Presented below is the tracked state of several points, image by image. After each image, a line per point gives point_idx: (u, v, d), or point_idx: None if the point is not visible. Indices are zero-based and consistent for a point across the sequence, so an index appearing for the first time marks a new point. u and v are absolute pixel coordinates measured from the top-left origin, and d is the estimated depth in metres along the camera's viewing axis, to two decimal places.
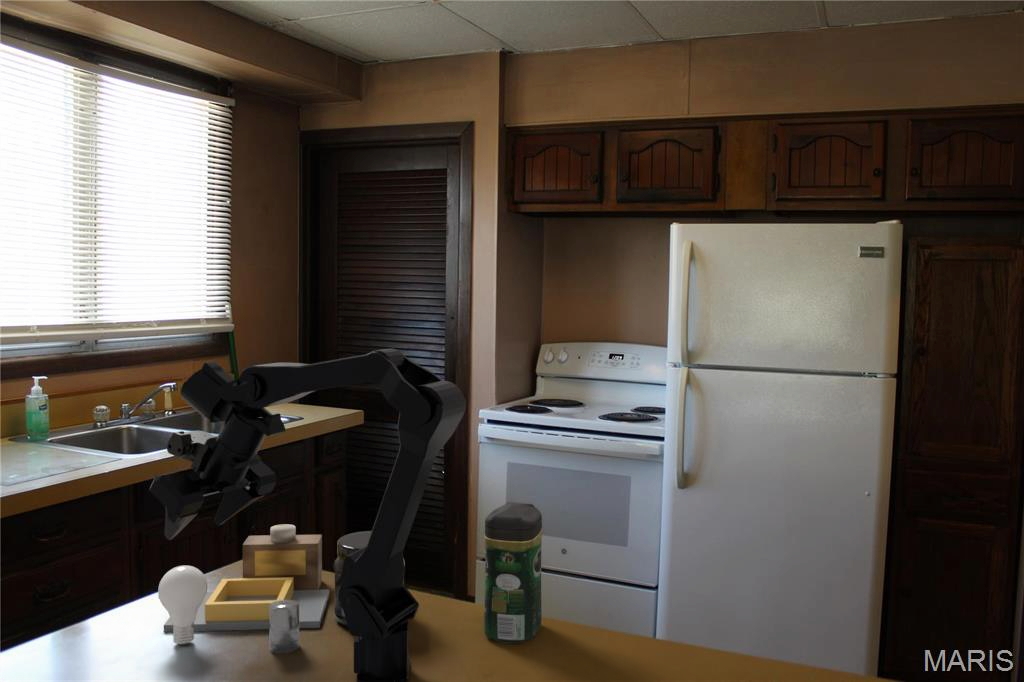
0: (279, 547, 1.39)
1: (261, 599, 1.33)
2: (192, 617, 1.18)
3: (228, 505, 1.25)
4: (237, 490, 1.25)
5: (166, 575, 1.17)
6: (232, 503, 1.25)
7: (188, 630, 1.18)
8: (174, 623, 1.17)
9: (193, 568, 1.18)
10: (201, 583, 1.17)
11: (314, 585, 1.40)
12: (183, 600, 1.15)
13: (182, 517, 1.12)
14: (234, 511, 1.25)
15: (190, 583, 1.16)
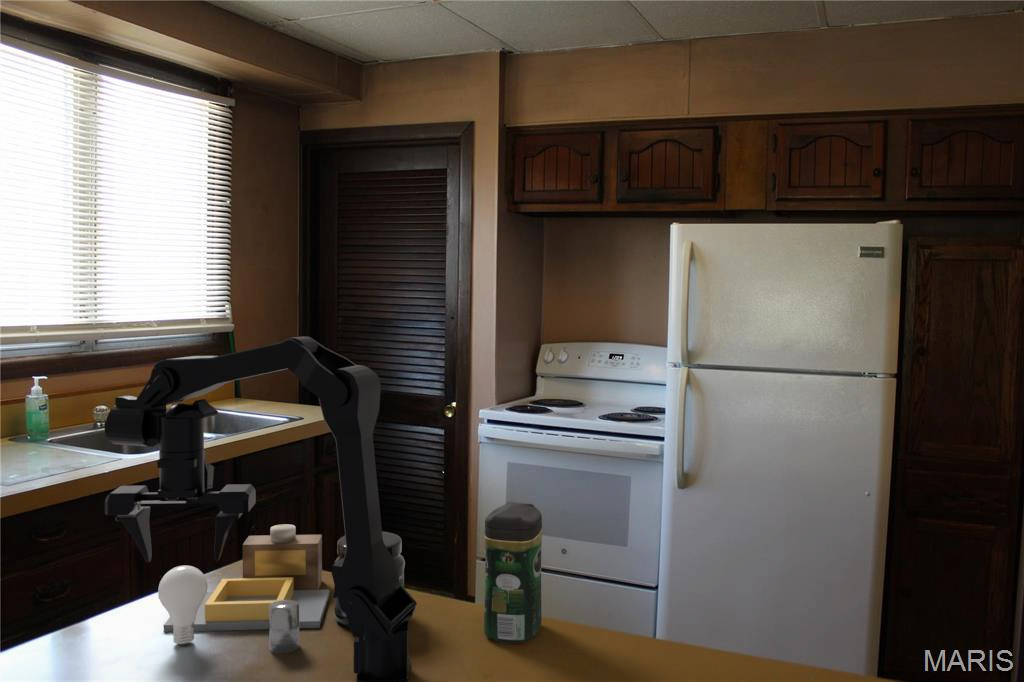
0: (279, 547, 1.39)
1: (261, 599, 1.33)
2: (192, 617, 1.18)
3: None
4: None
5: (166, 575, 1.17)
6: None
7: (188, 630, 1.18)
8: (174, 623, 1.17)
9: (193, 568, 1.18)
10: (201, 583, 1.17)
11: (314, 585, 1.40)
12: (183, 600, 1.15)
13: (116, 519, 1.14)
14: (215, 538, 1.17)
15: (191, 583, 1.16)
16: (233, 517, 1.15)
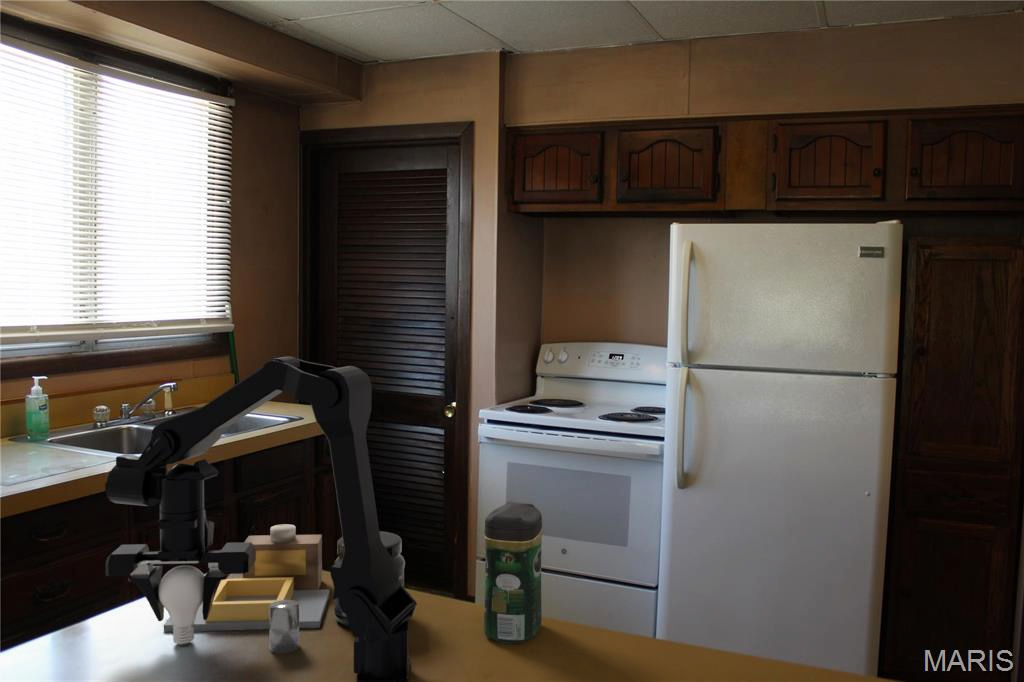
0: (279, 547, 1.39)
1: (261, 599, 1.33)
2: (192, 617, 1.18)
3: None
4: None
5: (166, 575, 1.17)
6: None
7: (188, 630, 1.18)
8: (174, 623, 1.17)
9: (193, 568, 1.18)
10: (201, 583, 1.17)
11: (314, 585, 1.40)
12: (183, 600, 1.15)
13: (129, 580, 1.15)
14: (203, 598, 1.17)
15: (190, 583, 1.16)
16: (221, 578, 1.16)
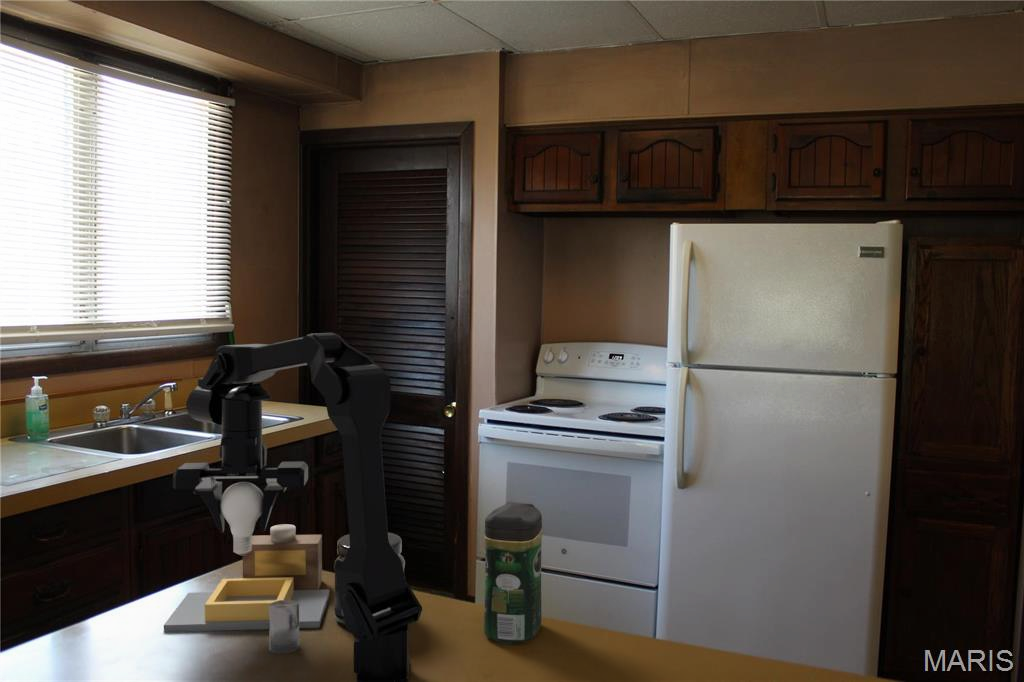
0: (279, 547, 1.39)
1: (261, 599, 1.33)
2: (251, 529, 1.28)
3: None
4: None
5: (227, 489, 1.27)
6: None
7: (247, 541, 1.28)
8: (235, 534, 1.27)
9: (252, 484, 1.28)
10: (259, 497, 1.27)
11: (314, 585, 1.40)
12: (244, 511, 1.25)
13: (195, 492, 1.24)
14: (262, 511, 1.27)
15: (251, 496, 1.26)
16: (279, 491, 1.26)
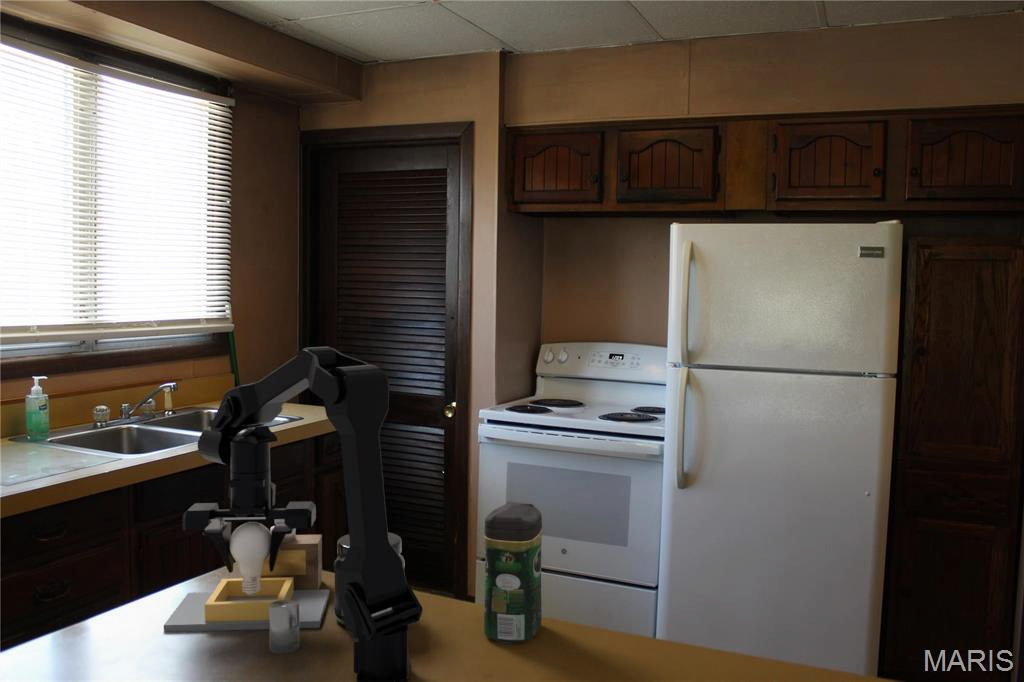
0: None
1: (261, 599, 1.33)
2: (260, 569, 1.29)
3: None
4: None
5: (236, 530, 1.28)
6: None
7: (256, 581, 1.29)
8: (243, 574, 1.29)
9: (260, 524, 1.30)
10: (268, 538, 1.29)
11: (314, 585, 1.40)
12: (252, 552, 1.27)
13: (204, 534, 1.26)
14: (270, 551, 1.28)
15: (259, 537, 1.28)
16: (287, 532, 1.27)
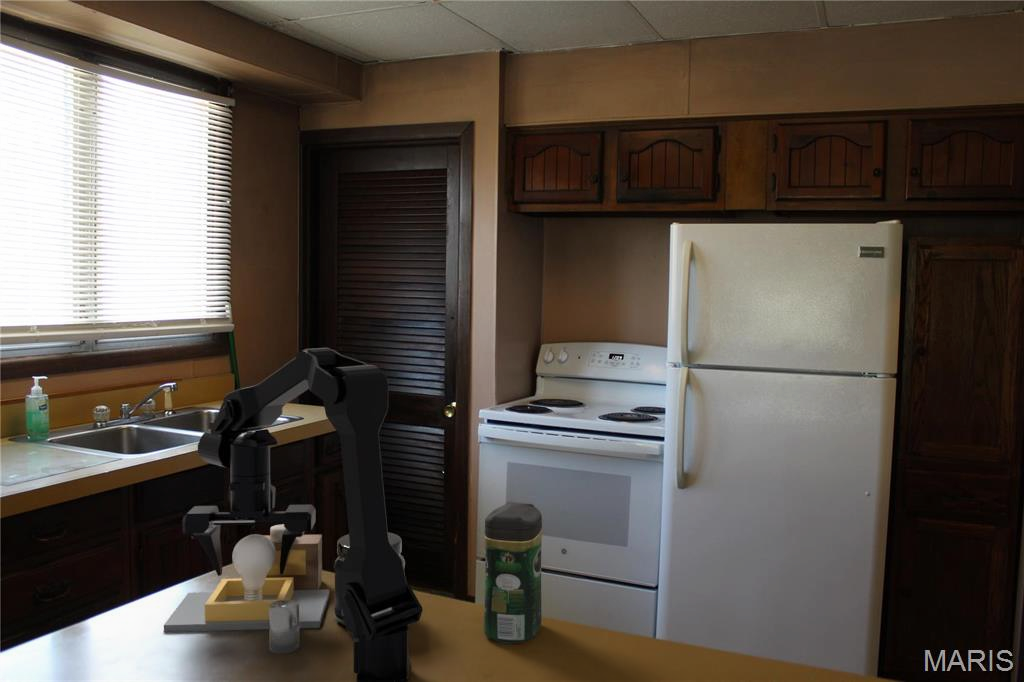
0: (279, 547, 1.39)
1: None
2: (262, 581, 1.29)
3: None
4: None
5: (240, 542, 1.29)
6: None
7: (258, 593, 1.29)
8: (246, 586, 1.29)
9: (264, 537, 1.30)
10: (271, 551, 1.29)
11: (314, 585, 1.40)
12: (256, 565, 1.27)
13: (193, 537, 1.26)
14: None
15: (263, 550, 1.28)
16: (298, 535, 1.27)
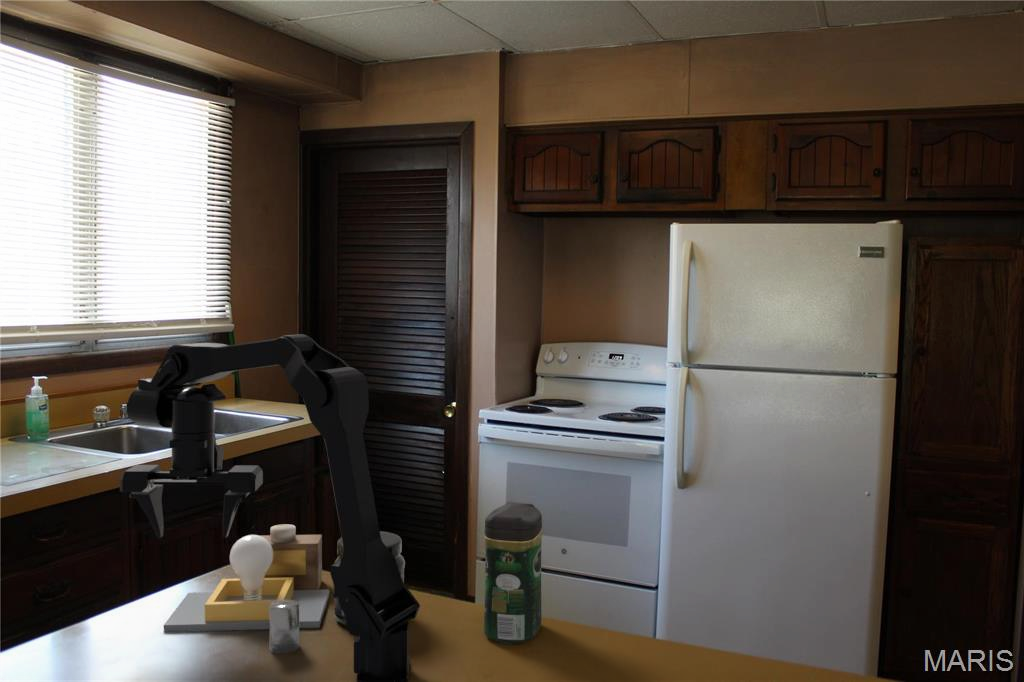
0: (279, 547, 1.39)
1: None
2: (261, 581, 1.29)
3: None
4: None
5: (237, 543, 1.28)
6: None
7: (257, 593, 1.29)
8: (245, 587, 1.29)
9: (260, 537, 1.30)
10: (268, 550, 1.29)
11: (314, 585, 1.40)
12: (253, 565, 1.27)
13: (130, 496, 1.20)
14: None
15: (259, 550, 1.28)
16: (240, 496, 1.21)
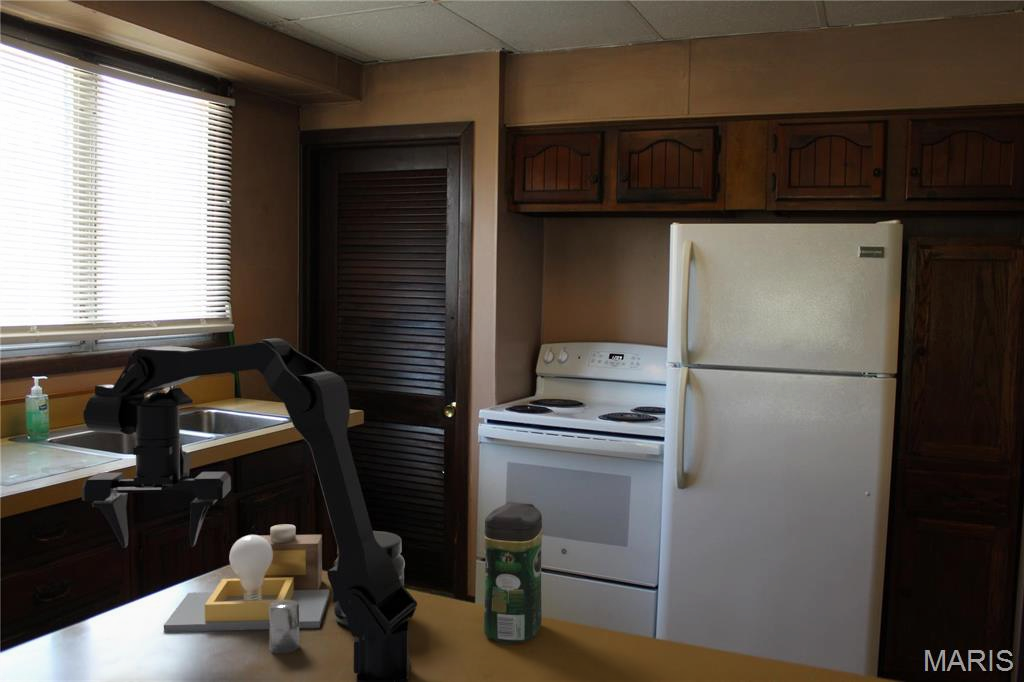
0: (279, 547, 1.39)
1: None
2: (261, 581, 1.29)
3: None
4: None
5: (236, 543, 1.28)
6: None
7: (257, 593, 1.29)
8: (244, 587, 1.29)
9: (260, 537, 1.30)
10: (268, 550, 1.29)
11: (314, 585, 1.40)
12: (252, 565, 1.27)
13: (93, 505, 1.17)
14: (190, 524, 1.19)
15: (259, 550, 1.28)
16: (207, 503, 1.18)
